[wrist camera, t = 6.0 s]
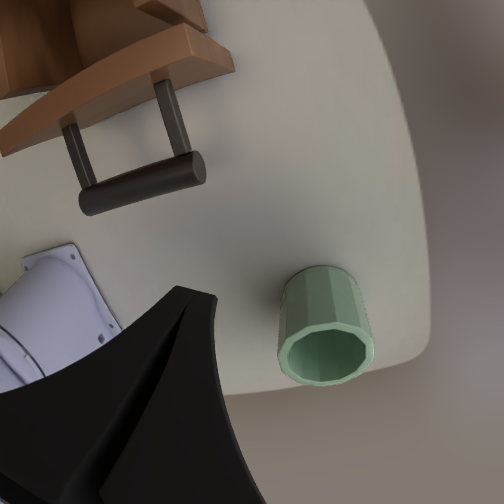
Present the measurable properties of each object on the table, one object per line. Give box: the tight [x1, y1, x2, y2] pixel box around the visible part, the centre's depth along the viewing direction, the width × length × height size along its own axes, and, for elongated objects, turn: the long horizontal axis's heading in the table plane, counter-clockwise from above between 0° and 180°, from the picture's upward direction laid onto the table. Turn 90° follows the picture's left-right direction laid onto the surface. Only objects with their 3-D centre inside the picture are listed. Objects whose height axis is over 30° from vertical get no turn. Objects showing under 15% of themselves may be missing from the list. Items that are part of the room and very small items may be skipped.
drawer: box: [0, 0, 235, 216], centre depth 10 cm, size 17×9×7 cm, turn 14°
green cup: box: [277, 266, 374, 387], centre depth 19 cm, size 5×5×6 cm
